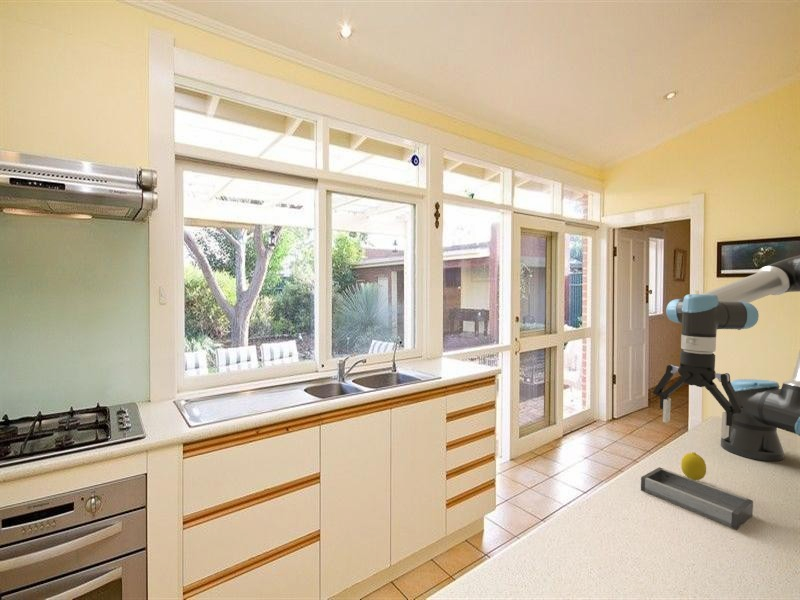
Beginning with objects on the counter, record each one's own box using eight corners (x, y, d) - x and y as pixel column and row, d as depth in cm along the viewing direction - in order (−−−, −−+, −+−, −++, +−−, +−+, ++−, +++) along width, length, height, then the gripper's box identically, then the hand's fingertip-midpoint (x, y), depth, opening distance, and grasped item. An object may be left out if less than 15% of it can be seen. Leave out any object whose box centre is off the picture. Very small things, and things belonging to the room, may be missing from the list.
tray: (658, 479, 109) (659, 467, 109) (752, 515, 93) (753, 500, 92) (640, 490, 104) (641, 477, 104) (736, 530, 87) (737, 514, 87)
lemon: (683, 483, 107) (684, 454, 107) (678, 474, 112) (679, 446, 112) (708, 487, 105) (709, 458, 105) (701, 478, 110) (702, 450, 110)
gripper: (641, 345, 115) (638, 417, 116) (752, 360, 94) (747, 448, 95) (654, 343, 119) (651, 413, 120) (763, 357, 99) (758, 441, 99)
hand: (694, 428), depth 108 cm, fingers open, 13 cm apart
